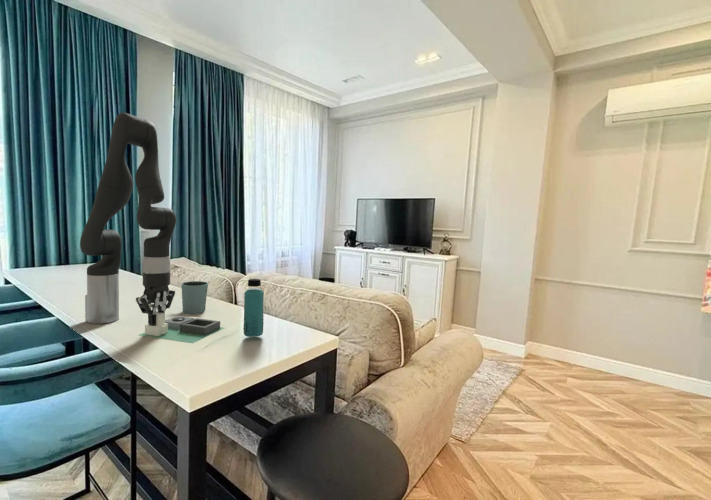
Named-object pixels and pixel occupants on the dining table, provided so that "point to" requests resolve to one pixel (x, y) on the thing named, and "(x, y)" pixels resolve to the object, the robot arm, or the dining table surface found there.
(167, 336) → the board
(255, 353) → the dining table surface
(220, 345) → the dining table surface
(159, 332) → the plug
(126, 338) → the dining table surface
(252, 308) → the beverage bottle
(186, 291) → the grey-green tapered cup
